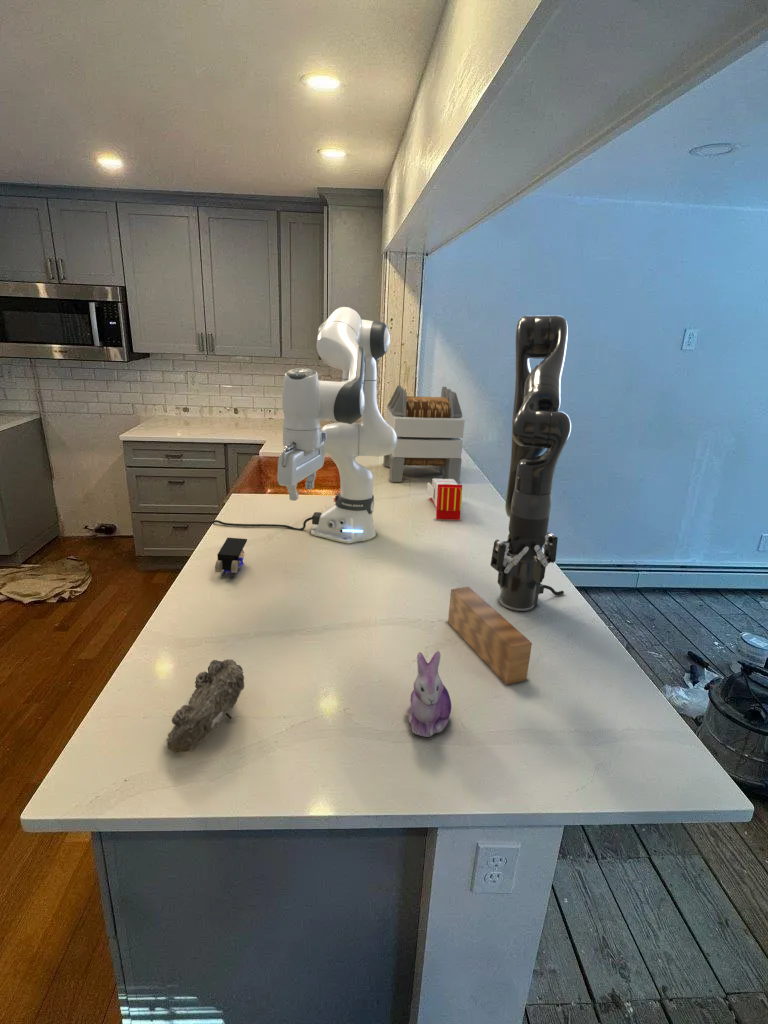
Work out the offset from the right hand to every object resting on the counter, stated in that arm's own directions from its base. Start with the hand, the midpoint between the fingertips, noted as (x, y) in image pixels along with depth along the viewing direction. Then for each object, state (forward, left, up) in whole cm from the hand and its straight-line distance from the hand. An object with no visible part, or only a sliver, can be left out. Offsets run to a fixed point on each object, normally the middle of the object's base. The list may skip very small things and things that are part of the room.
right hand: (520, 584), depth 118 cm
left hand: (+37, -43, +9) cm, 57 cm away
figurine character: (+52, -68, -22) cm, 89 cm away
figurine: (+23, +9, -22) cm, 33 cm away
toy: (-34, -104, -22) cm, 111 cm away
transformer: (-45, -153, -22) cm, 161 cm away
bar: (0, -10, -22) cm, 24 cm away
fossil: (+63, -4, -22) cm, 66 cm away
